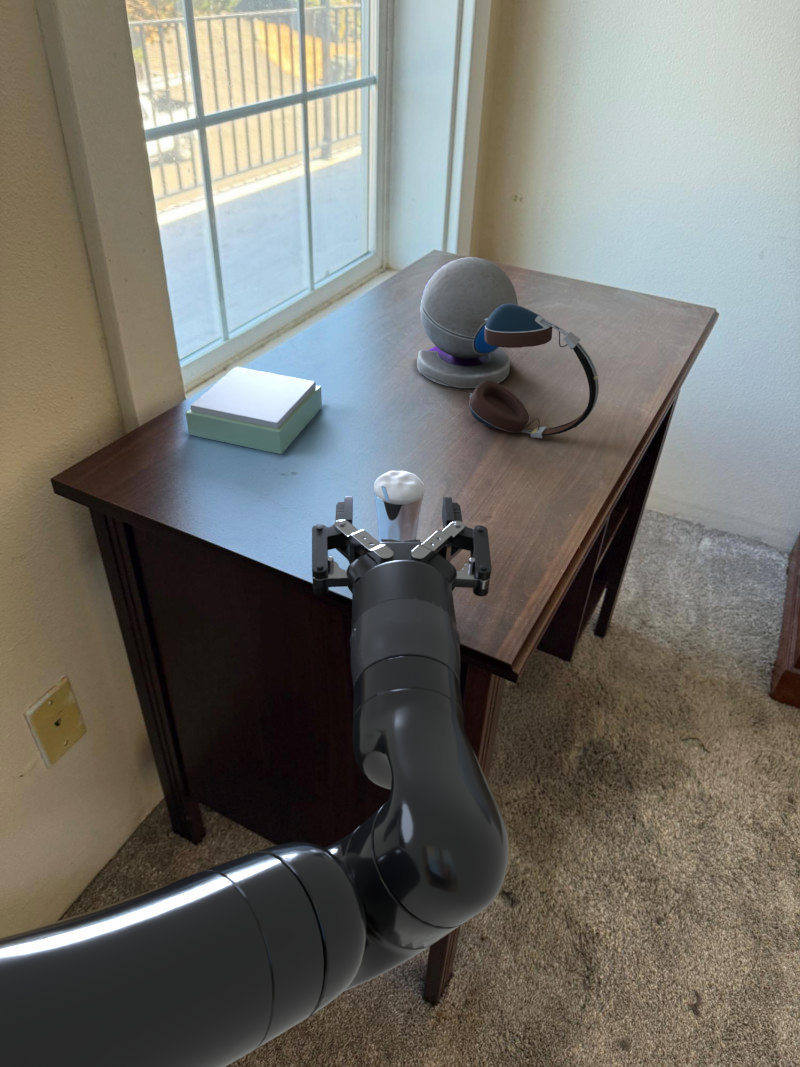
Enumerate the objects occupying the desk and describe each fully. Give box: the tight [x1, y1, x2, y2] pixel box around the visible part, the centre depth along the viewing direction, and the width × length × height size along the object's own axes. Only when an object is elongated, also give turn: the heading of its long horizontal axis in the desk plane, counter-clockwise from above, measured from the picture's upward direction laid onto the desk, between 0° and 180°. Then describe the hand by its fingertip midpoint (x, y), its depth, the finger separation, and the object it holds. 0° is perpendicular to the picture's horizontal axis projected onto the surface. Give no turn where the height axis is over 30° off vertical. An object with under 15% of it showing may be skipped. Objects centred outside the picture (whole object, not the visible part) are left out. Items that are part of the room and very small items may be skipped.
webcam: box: [416, 256, 519, 389], centre depth 100 cm, size 13×13×15 cm
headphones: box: [420, 304, 600, 439], centre depth 88 cm, size 6×15×22 cm
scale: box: [185, 366, 323, 455], centre depth 90 cm, size 12×12×4 cm
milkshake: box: [373, 470, 426, 542], centre depth 69 cm, size 4×5×10 cm
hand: (398, 504), depth 65 cm, fingers open, 8 cm apart
